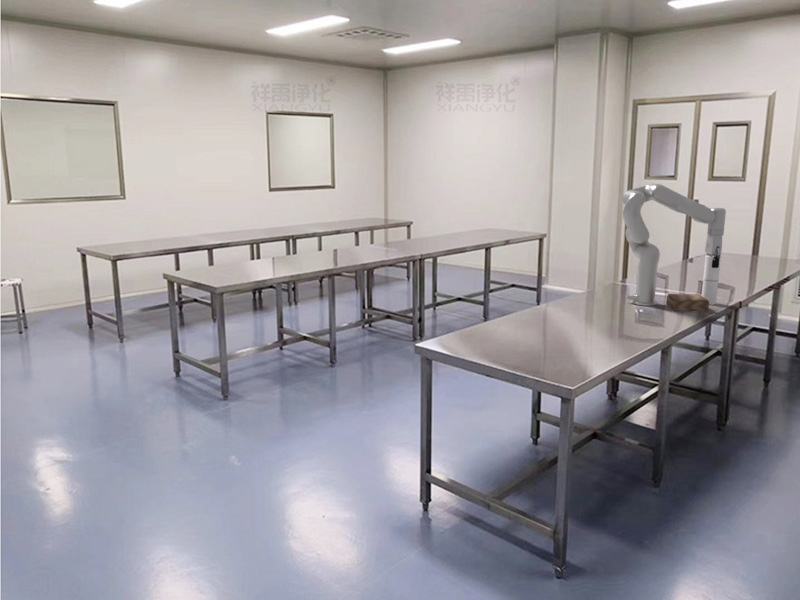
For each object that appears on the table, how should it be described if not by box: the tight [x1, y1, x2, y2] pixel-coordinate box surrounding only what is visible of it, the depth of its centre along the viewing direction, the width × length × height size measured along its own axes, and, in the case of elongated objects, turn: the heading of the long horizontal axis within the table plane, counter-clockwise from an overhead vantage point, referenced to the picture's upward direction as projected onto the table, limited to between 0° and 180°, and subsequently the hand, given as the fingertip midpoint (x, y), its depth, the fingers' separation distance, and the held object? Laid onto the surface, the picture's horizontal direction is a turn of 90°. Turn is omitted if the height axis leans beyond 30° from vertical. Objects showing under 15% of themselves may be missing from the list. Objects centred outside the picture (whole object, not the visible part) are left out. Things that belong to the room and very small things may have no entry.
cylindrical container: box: [701, 254, 722, 306], centre depth 329 cm, size 7×7×25 cm
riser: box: [665, 293, 710, 313], centre depth 321 cm, size 16×14×6 cm
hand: (712, 266), depth 328 cm, fingers closed on cylindrical container, 7 cm apart
